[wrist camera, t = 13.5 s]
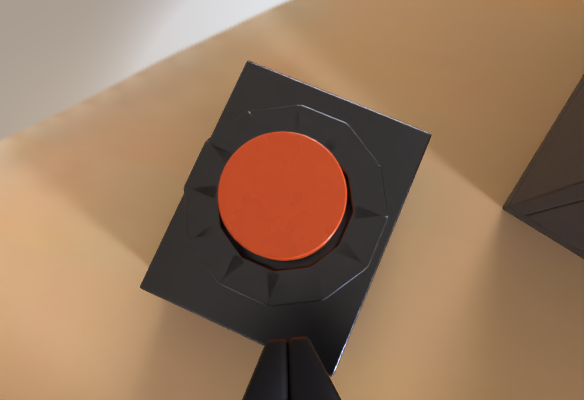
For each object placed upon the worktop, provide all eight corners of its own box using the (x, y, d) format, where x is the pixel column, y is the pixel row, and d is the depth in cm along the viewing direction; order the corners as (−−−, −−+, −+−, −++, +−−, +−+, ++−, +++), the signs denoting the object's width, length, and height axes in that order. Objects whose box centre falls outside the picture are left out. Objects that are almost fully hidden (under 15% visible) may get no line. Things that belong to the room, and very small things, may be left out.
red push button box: (328, 358, 21) (335, 392, 15) (169, 285, 22) (116, 289, 16) (410, 158, 22) (447, 116, 16) (258, 95, 23) (239, 34, 17)
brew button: (315, 279, 16) (315, 280, 14) (209, 233, 16) (195, 227, 14) (360, 174, 16) (367, 160, 14) (256, 131, 17) (249, 111, 15)
